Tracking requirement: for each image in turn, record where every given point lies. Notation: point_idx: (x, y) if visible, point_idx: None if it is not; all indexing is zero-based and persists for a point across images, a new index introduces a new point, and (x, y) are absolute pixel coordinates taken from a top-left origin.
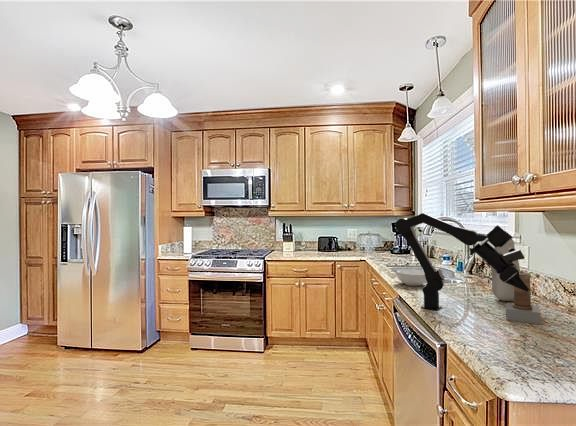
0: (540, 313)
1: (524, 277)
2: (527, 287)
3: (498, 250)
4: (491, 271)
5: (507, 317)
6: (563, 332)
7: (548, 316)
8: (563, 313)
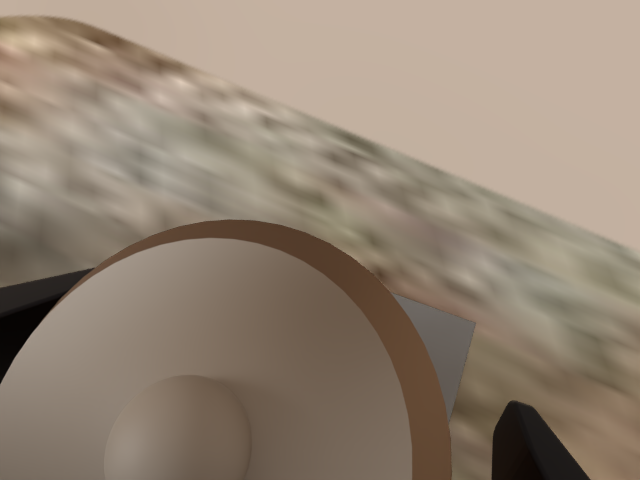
0: (474, 325)
1: (436, 447)
2: (560, 443)
3: None
4: None
5: None
6: (595, 272)
7: (238, 199)
8: (165, 91)
